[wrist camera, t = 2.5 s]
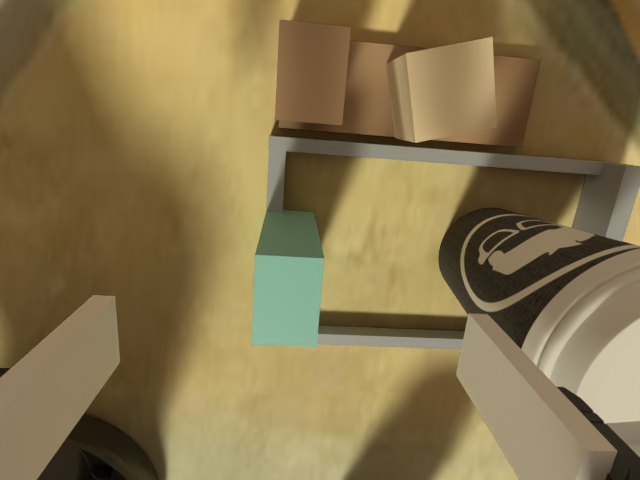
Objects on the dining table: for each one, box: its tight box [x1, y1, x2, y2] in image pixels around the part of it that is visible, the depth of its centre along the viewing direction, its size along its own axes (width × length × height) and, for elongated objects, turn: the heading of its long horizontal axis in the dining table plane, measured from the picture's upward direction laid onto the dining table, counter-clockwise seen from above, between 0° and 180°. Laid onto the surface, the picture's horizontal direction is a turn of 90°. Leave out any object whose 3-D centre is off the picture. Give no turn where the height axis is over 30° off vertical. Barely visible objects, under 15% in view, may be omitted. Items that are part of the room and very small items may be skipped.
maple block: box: [386, 37, 497, 143], centre depth 22 cm, size 4×4×4 cm
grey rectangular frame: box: [252, 135, 640, 349], centre depth 23 cm, size 22×14×9 cm, turn 85°
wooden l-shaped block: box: [275, 20, 540, 147], centre depth 21 cm, size 15×5×7 cm, turn 85°
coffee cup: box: [439, 208, 640, 457], centre depth 21 cm, size 10×10×15 cm
